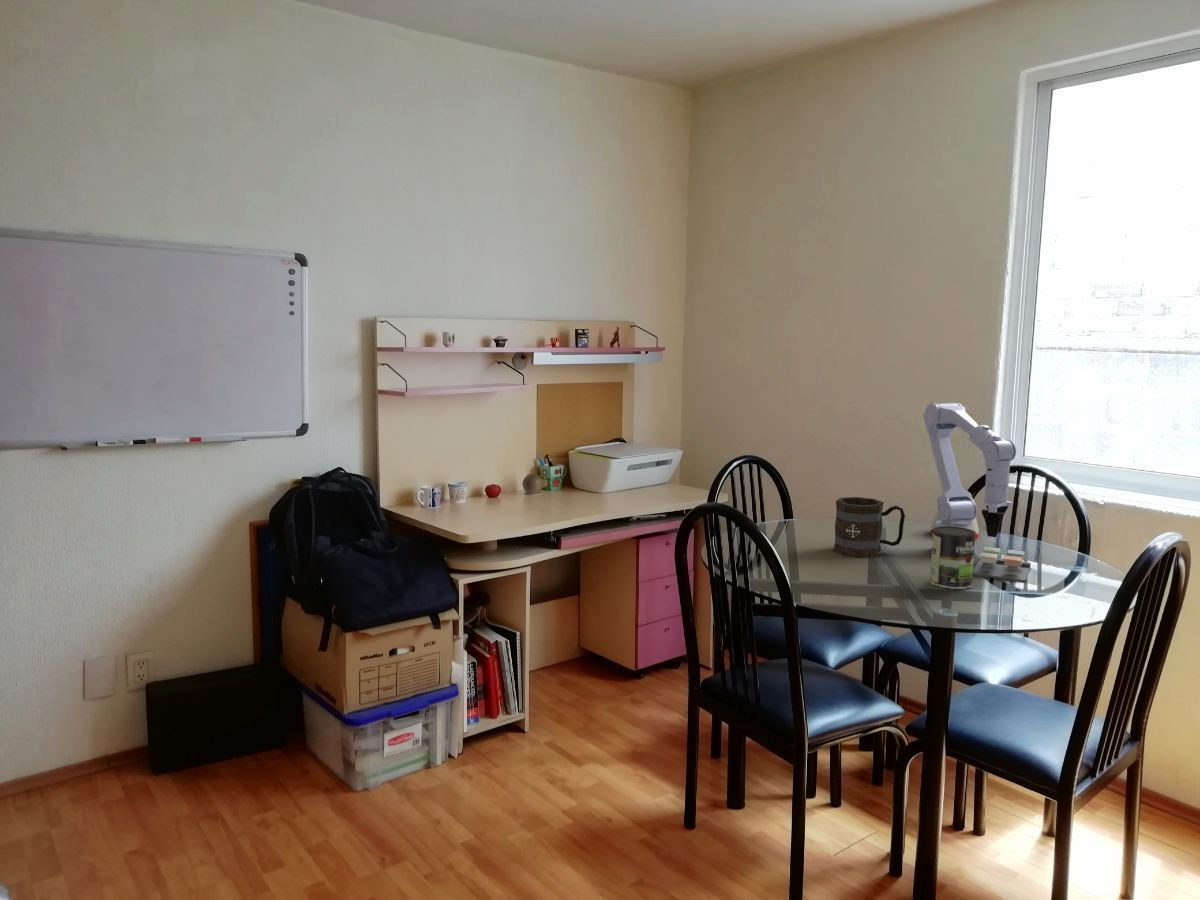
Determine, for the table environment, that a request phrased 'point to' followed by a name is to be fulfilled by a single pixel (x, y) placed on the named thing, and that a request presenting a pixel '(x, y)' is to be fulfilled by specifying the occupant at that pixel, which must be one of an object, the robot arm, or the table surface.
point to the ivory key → (988, 559)
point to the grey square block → (1016, 553)
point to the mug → (861, 526)
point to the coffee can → (952, 557)
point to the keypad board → (1002, 571)
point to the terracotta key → (1012, 562)
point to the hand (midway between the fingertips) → (993, 533)
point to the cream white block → (992, 550)
